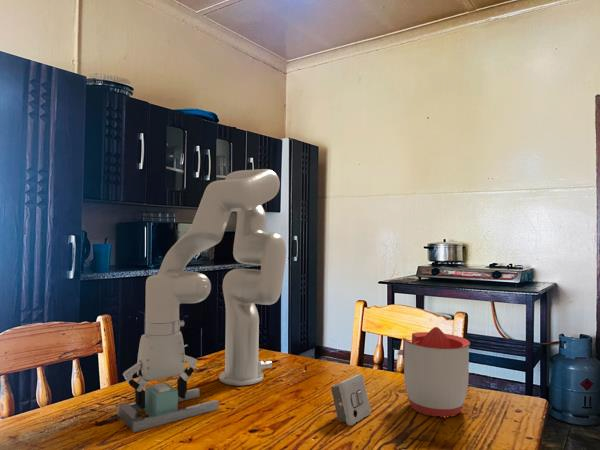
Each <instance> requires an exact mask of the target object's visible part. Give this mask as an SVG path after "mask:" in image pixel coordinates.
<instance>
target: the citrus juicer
mask: <svg viewBox="0 0 600 450" xmlns="http://www.w3.org/2000/svg"><path fill="white" fill-rule="evenodd" d="M402 341H403V343H402V349H399V350H398V351H397V354H396V355H397V356H402V359H403V377H404V378H403V379H404V385H405V390H406V394H407V398H408V402H409V404H410V407H411V408H412V409H413V410H414V409H415V410H416V411H415V410H414V411H415V412H418V413H420V414H422V413H423V414H422V415H426V416H430V415H431V417H435V416H440V417H439V418H442V417H444V416H445V417H447V416H451V417H454V416H453V415H455V416H457V415H456V414H458V413H459V414H461V413H460V412H461V411H462V409H463V407H464V405H465V400H466V399H467V398H466V397H467V393H468V388H469V377H470V376H469V375H470V374H469V371H470V370H469V368H470V366H469V365H470V361H469V360H470V358H469V357H470V356H469V355H470V345H471V342H470V340H468V339H466V338H464V337H461V336H458V335H455V334H450V333H444V332H443V331H442V329H440V328H439V327H438V326H434V327H433V328H431V330H429V331H426V332H424V331H422V332H412V334H411V340H410V339H407V338H406V337H403V338H402ZM459 414H458V415H459Z"/></svg>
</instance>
